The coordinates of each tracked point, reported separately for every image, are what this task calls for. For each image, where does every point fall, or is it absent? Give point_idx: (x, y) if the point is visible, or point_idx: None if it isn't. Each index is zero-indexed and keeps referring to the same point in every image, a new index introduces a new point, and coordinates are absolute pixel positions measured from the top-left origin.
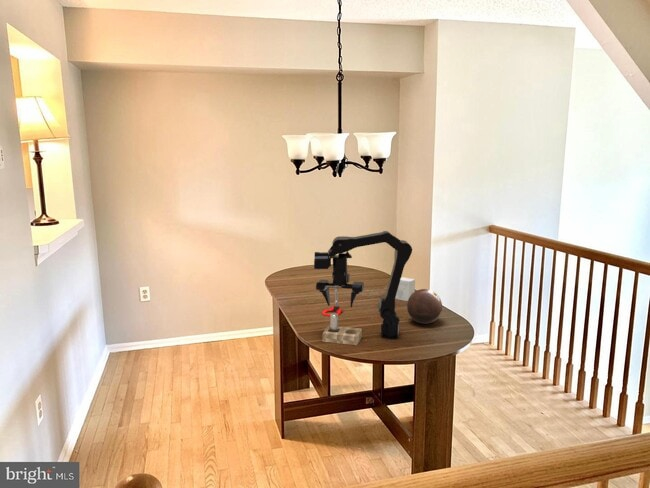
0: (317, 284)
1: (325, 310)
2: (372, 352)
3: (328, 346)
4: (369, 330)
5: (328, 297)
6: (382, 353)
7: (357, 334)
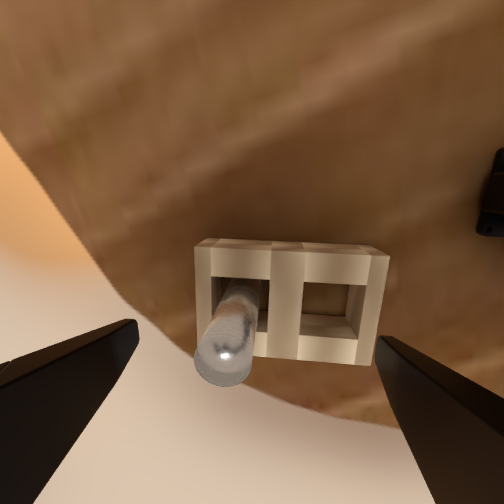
0: None
1: None
2: None
3: None
4: (409, 144)
5: (49, 432)
6: None
7: (368, 339)
